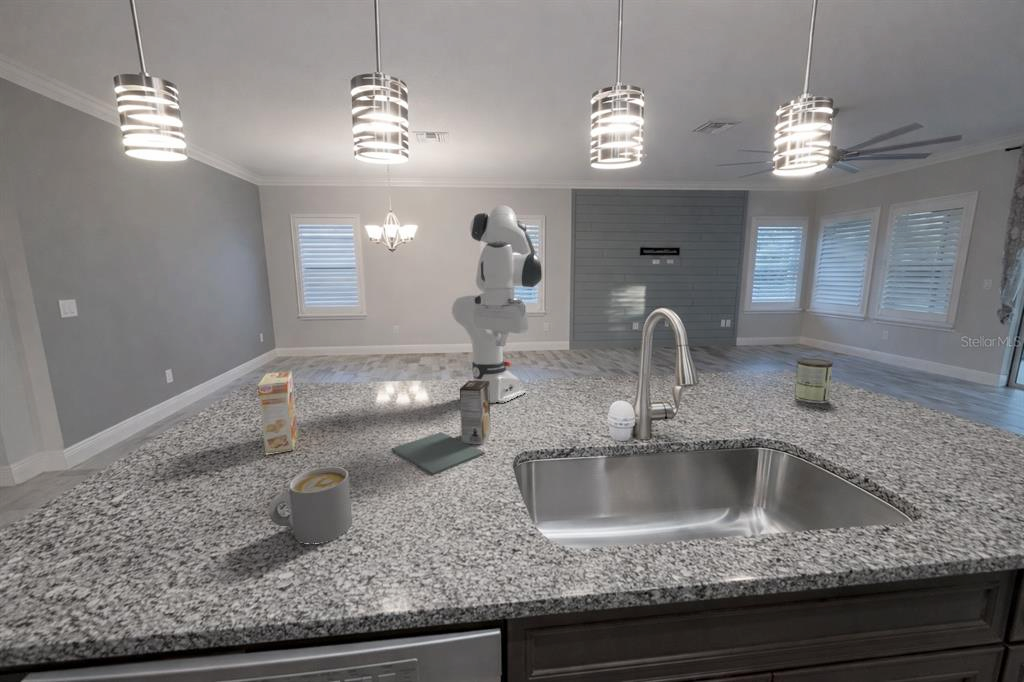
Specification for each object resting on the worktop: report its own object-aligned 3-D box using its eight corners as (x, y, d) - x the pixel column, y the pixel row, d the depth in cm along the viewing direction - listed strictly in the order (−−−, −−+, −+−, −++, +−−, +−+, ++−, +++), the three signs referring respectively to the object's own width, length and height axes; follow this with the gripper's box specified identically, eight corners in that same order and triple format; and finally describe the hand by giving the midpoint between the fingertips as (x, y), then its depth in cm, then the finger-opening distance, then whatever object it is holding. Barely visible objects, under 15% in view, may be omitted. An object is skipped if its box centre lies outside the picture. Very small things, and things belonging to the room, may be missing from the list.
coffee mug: (356, 510, 84) (353, 464, 82) (346, 541, 74) (341, 489, 73) (285, 518, 82) (280, 470, 80) (265, 551, 72) (258, 497, 70)
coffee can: (790, 394, 157) (794, 357, 155) (823, 396, 153) (827, 359, 151) (798, 401, 147) (802, 363, 145) (833, 404, 144) (837, 365, 141)
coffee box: (470, 431, 125) (469, 379, 122) (491, 432, 124) (490, 380, 121) (461, 443, 116) (458, 388, 114) (483, 445, 115) (481, 389, 112)
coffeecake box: (294, 451, 113) (287, 382, 110) (264, 456, 110) (255, 385, 107) (299, 432, 126) (292, 370, 123) (272, 436, 124) (265, 372, 121)
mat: (441, 434, 123) (441, 432, 123) (484, 454, 109) (484, 452, 109) (391, 450, 112) (391, 448, 112) (432, 475, 98) (432, 472, 98)
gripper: (532, 299, 115) (533, 348, 117) (485, 297, 130) (486, 341, 132) (516, 300, 111) (517, 351, 113) (469, 298, 125) (470, 343, 128)
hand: (500, 345), depth 123 cm, fingers closed
